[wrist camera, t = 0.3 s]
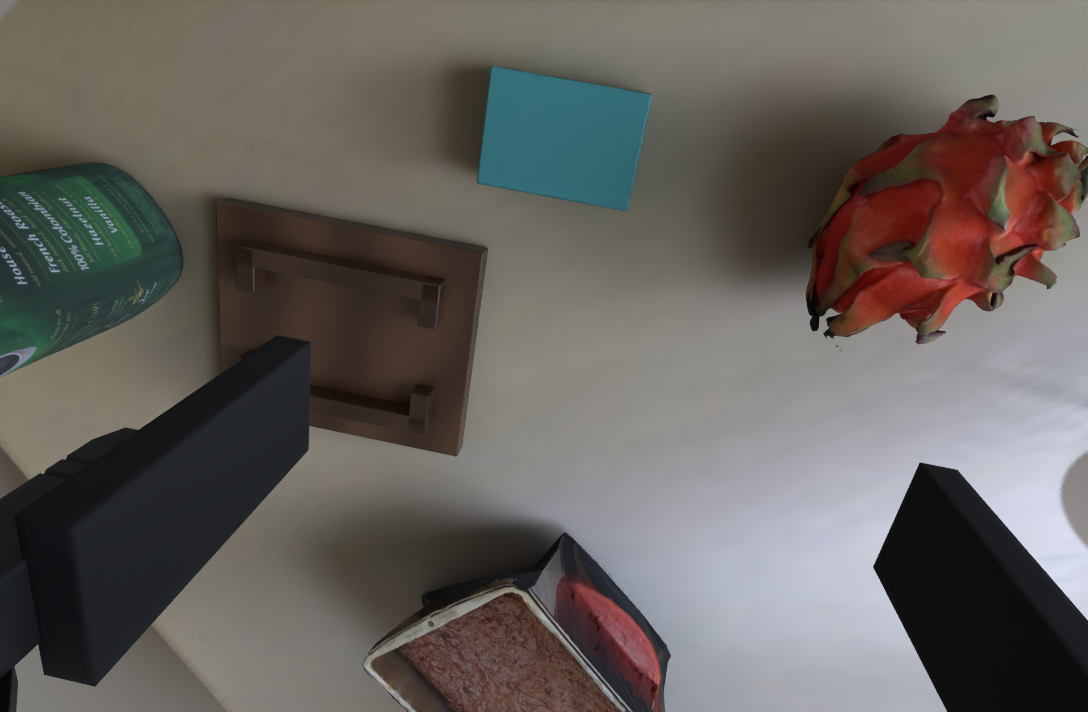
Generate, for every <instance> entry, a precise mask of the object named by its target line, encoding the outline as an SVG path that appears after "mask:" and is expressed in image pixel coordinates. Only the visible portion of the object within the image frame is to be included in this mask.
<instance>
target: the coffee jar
mask: <svg viewBox="0 0 1088 712" xmlns="http://www.w3.org/2000/svg"><path fill="white" fill-rule="evenodd" d="M182 268H183V255H182V249H181V245H180V242H179V240H178V238H177V236H176V233H175V231H174V229H173V227H172V225H171V224H170V222H169V220H168V219H167V217H166V216H165V214H164V213H163V211H162V210H161V208H160V207H159V206H158V204H157V203H156V202H155V201H154V200H153V198H152V197H151V196H150V195H149V194H148V193H147V191H146V190H145V189H144V188H143V187H142V186H141V185H139V184H138V183H137V182H136V181H135V180H134V179H133V178H132V177H131V176H129V175H128V174H127V173H125V172H123V171H122V170H120V169H118V168H116V167H113V166H111V165H108V164H104V163H85V164H77V165H70V166H63V167H57V168H50V169H44V170H38V171H32V172H26V173H21V174H15V175H9V176H4V177H0V377H2V376H4V375H6V374H8V373H11V372H13V371H15V370H17V369H19V368H22V367H24V366H26V365H29V364H31V363H33V362H35V361H38V360H40V359H42V358H44V357H46V356H49V355H51V354H53V353H56V352H58V351H60V350H63V349H65V348H68V347H70V346H72V345H74V344H77V343H79V342H81V341H84V340H86V339H88V338H91V337H93V336H95V335H97V334H100V333H102V332H104V331H106V330H109V329H111V328H113V327H115V326H117V325H119V324H121V323H123V322H125V321H127V320H129V319H132V318H133V317H135V316H136V315H138V314H140V313H141V312H143V311H144V310H146V309H147V308H149V307H150V306H151V305H153V304H154V303H156V302H157V301H158V300H159V299H160V298H161V297H163V296H164V295H165V294H166V293H167V292H168V291H169V290H170V289H171V288H172V287H173V286H174V285H175V283H176V282H177V281H178V279H179V277H180V275H181V272H182Z"/></svg>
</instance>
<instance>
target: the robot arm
mask: <svg viewBox="0 0 1088 712" xmlns="http://www.w3.org/2000/svg"><path fill="white" fill-rule="evenodd" d="M310 359H311V342H310V341H305V340H300V339H295V338H290V337H285V336H280V335H276V336H275V337H274V338H272V339H271V340H269V341H268V342H266V343H265V344H263V345H262V346H260V347H259V348H258V349H256V350H255V351H253V352H252V353H250V354H249V355H247V356H246V357H244V358H243V359H241V360H240V361H239V362H237V363H236V364H234V365H233V366H231V367H230V368H228V369H227V370H225V371H224V372H223V373H221V374H220V375H218V376H217V377H215V378H214V379H212V380H211V381H209V382H208V383H206V384H205V385H204V386H202V387H201V388H199V389H198V390H196V391H195V392H193V393H192V394H190V395H189V396H188V397H186V398H185V399H183V400H182V401H180V402H179V403H177V404H176V405H174V406H173V407H172V408H170V409H169V410H167V411H166V412H164V413H163V414H161V415H160V416H158V417H157V418H155V419H154V420H153V421H151V422H150V423H148V424H147V425H145V426H144V427H142V428H141V429H139V430H135V429H130V428H123V429H120V430H118V431H115V432H112V433H109V434H106V435H104V436H101V437H98V438H95V439H93V440H91V441H89V442H88V443H86V444H85V445H83V446H82V447H80V448H79V449H77V450H75V451H74V452H72V453H71V454H69V455H68V456H67V458H66V460H63V459H62V460H60V461H58V462H57V463H55V464H54V465H52V466H51V467H49V468H48V469H46V471H45V473H44V474H41V473H40V474H38V475H37V476H35V477H34V478H32V479H31V480H29V481H27V482H26V483H24V484H23V485H21V486H20V487H18V488H17V489H15V490H13V491H12V492H10V493H9V494H7V495H6V496H4V497H3V498H1V499H0V712H16V705H17V689H18V680H17V676H16V671H15V665H16V664H17V663H18V662H19V661H20V660H21V659H22V658H24V657H25V656H26V655H27V654H28V653H29V652H30V651H31V650H32V649H33V648H34V647H35V646H36V645H37V644H38V645H39V650H40V656H41V661H42V666H43V672H44V675H48V676H52V677H57V678H61V679H65V680H70V681H74V682H78V683H82V684H87V685H91V686H96V685H97V684H98V683H99V682H100V680H102V678H103V677H104V676H105V675H106V674H107V673H108V672H109V671H110V670H111V668H112V667H113V666H114V665H115V664H116V663H117V662H118V661H119V659H120V658H121V657H122V656H123V655H124V654H125V653H126V652H127V651H128V649H129V648H130V647H131V646H132V645H133V644H134V643H135V642H136V641H137V640H138V638H139V637H140V636H141V635H142V634H143V633H144V632H145V630H147V628H148V627H149V626H150V625H151V624H152V623H153V622H154V621H155V620H156V618H157V617H158V616H159V615H160V614H161V613H162V612H163V611H164V610H165V609H166V607H167V606H168V605H169V604H170V603H171V602H172V601H173V600H174V599H175V597H176V596H177V595H178V594H179V593H180V592H181V591H182V590H183V589H184V587H185V586H186V585H187V584H188V583H189V582H190V581H191V580H192V579H193V577H194V576H195V575H196V574H197V573H198V572H199V571H200V570H201V569H202V567H203V566H204V565H205V564H206V563H207V562H208V561H209V560H210V559H211V557H212V556H213V555H214V554H215V553H216V552H217V551H218V550H219V549H220V547H221V546H222V545H223V544H224V543H225V542H226V541H227V540H228V539H229V538H230V536H231V535H232V534H233V533H234V532H235V531H236V530H237V529H238V528H239V526H240V525H241V524H242V523H243V522H244V521H245V520H246V519H247V518H248V516H249V515H250V514H251V513H252V512H253V511H254V510H255V509H256V508H257V506H258V505H259V504H260V503H261V502H262V501H263V500H264V499H265V498H266V496H267V495H268V494H269V493H270V492H271V491H272V490H273V489H274V488H275V486H276V485H277V484H278V483H279V482H280V481H281V480H282V479H283V478H284V476H285V475H286V474H287V473H288V472H289V471H290V470H291V469H292V468H293V466H294V465H295V464H296V463H297V462H298V461H299V460H300V459H301V458H302V457H303V455H304V454H305V453H306V452H307V451H308V449H309V404H310ZM873 568H874V570H875V571H876V573H877V575H878V577H879V579H880V581H881V583H882V585H883V587H884V589H885V591H886V593H887V595H888V597H889V599H890V601H891V603H892V605H893V607H894V609H895V611H896V613H897V614H898V616H899V618H900V620H901V622H902V624H903V626H904V628H905V630H906V632H907V634H908V636H909V638H910V640H911V642H912V644H913V646H914V648H915V650H916V652H917V654H918V656H919V657H920V659H921V661H922V663H923V665H924V667H925V669H926V671H927V673H928V675H929V677H930V679H931V681H932V683H933V685H934V687H935V689H936V691H937V693H938V695H939V697H940V699H941V700H942V702H943V704H944V706H945V708H946V710H947V712H1088V620H1087V619H1086V618H1085V617H1084V616H1083V614H1082V613H1081V612H1080V611H1079V610H1078V609H1077V608H1076V606H1075V605H1074V604H1073V603H1072V602H1071V601H1070V599H1069V598H1068V597H1067V596H1066V595H1065V594H1064V593H1063V591H1062V590H1061V589H1060V588H1059V587H1058V586H1057V584H1056V583H1055V582H1054V581H1053V580H1052V579H1051V578H1050V576H1049V575H1048V574H1047V573H1046V572H1045V571H1044V569H1043V568H1042V567H1041V566H1040V565H1039V564H1038V563H1037V561H1036V560H1035V559H1034V558H1033V557H1032V556H1031V554H1030V553H1029V552H1028V551H1027V550H1026V549H1025V548H1024V546H1023V545H1022V544H1021V543H1020V542H1019V541H1018V539H1017V538H1016V537H1015V536H1014V535H1013V534H1012V533H1011V531H1010V530H1009V529H1008V528H1007V527H1006V526H1005V524H1004V523H1003V522H1002V521H1001V520H1000V519H999V518H998V516H997V515H996V514H995V513H994V512H993V511H992V509H991V508H990V507H989V506H988V505H987V504H986V502H985V501H984V500H983V499H982V498H981V497H980V496H979V494H978V493H977V492H976V491H975V490H974V489H973V487H972V486H971V485H970V484H969V483H968V482H967V481H966V479H965V478H964V477H963V476H962V475H961V474H960V472H959V471H958V470H955V469H950V468H945V467H940V466H935V465H930V464H925V463H919V466H918V468H917V470H916V472H915V475H914V477H913V479H912V481H911V484H910V486H909V488H908V490H907V493H906V495H905V497H904V499H903V501H902V504H901V506H900V508H899V510H898V513H897V515H896V517H895V519H894V522H893V524H892V526H891V528H890V531H889V533H888V535H887V537H886V540H885V542H884V544H883V546H882V548H881V551H880V553H879V555H878V557H877V560H876V562H875V564H874V566H873Z"/></svg>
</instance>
